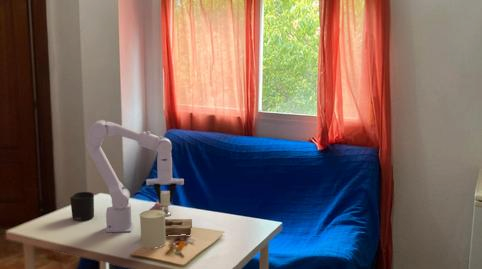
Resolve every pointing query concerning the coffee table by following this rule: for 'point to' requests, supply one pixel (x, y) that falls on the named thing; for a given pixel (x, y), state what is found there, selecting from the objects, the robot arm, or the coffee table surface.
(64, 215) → the coffee table surface
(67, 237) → the coffee table surface
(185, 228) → the keyhole plate
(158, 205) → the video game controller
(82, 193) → the pen holder
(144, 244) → the can
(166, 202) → the steel peg
